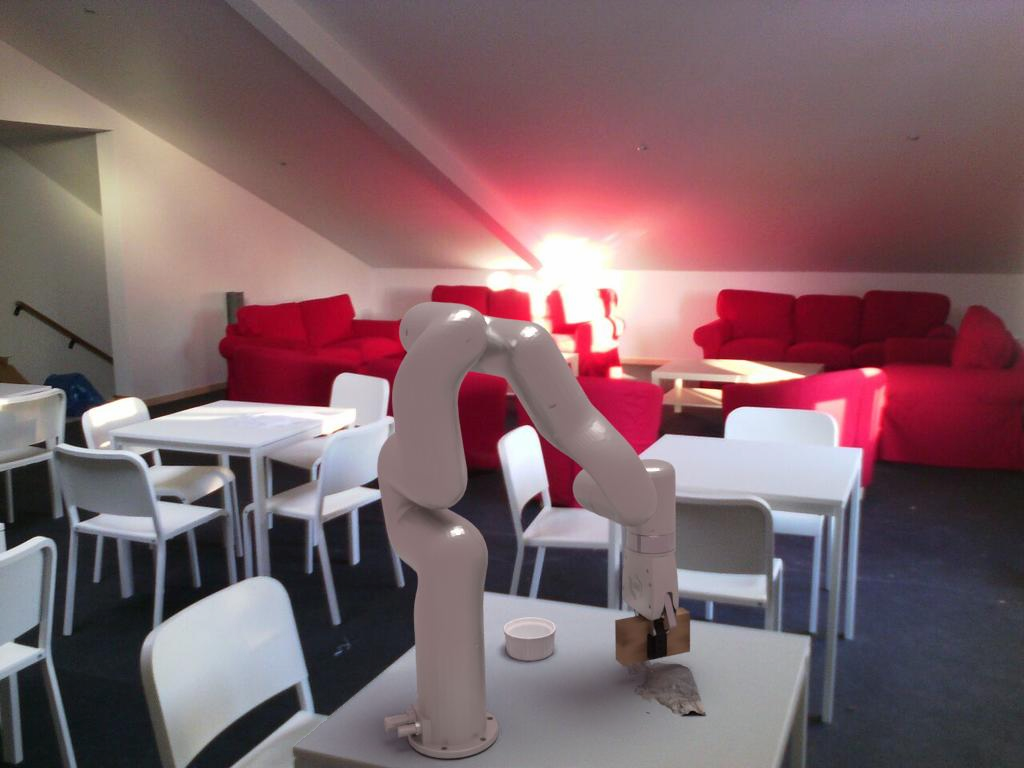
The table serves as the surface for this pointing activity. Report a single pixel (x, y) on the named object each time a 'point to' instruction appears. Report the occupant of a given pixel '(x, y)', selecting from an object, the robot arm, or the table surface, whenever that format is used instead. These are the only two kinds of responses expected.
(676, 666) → the stone slab
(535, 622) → the ramekin
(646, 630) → the brown wooden block
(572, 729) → the table surface
